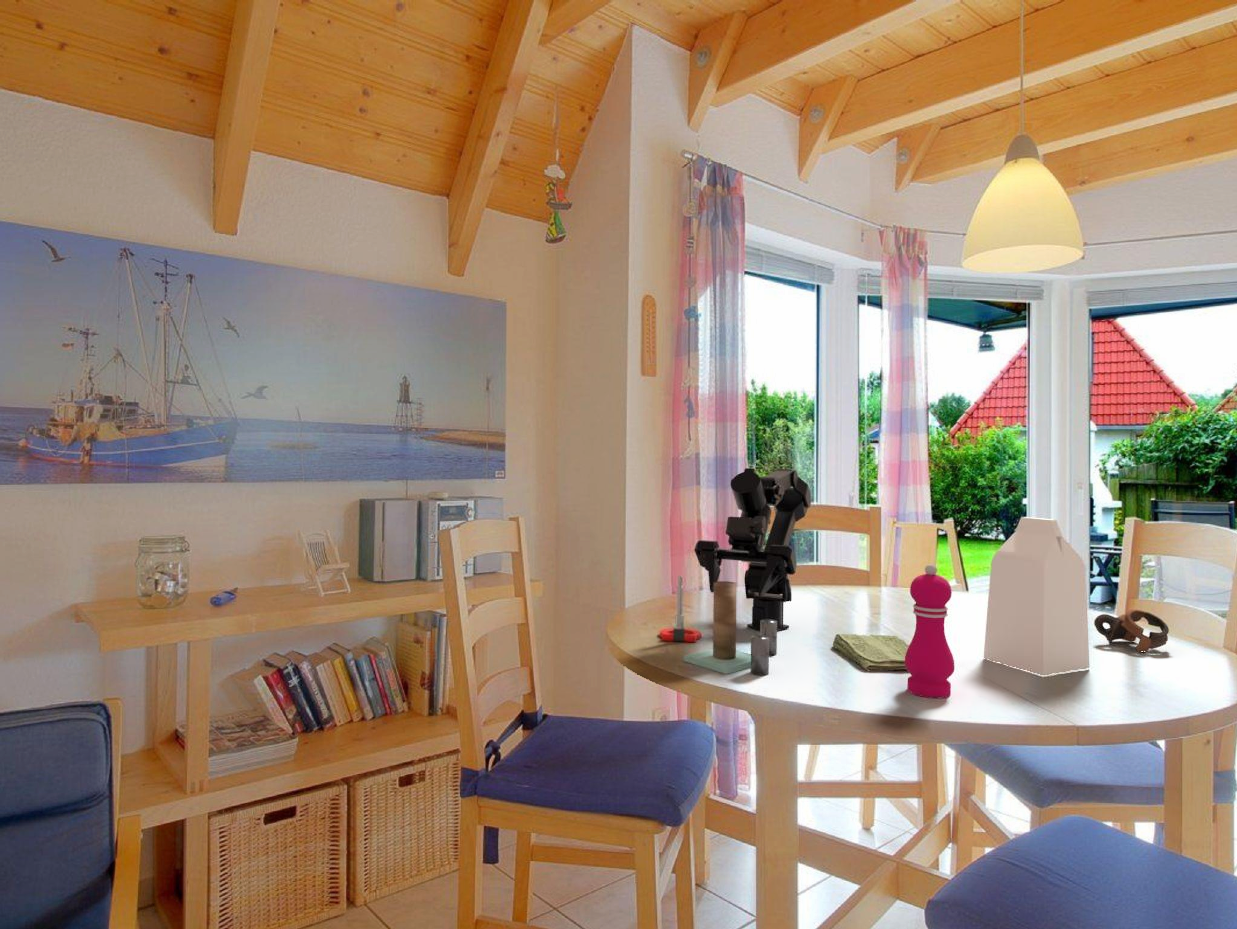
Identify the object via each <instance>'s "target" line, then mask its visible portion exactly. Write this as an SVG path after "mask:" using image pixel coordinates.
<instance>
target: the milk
mask: <svg viewBox="0 0 1237 929" xmlns="http://www.w3.org/2000/svg"><path fill="white" fill-rule="evenodd" d="M1019 519H1020V520H1019V521H1018V524H1017V526H1016V527H1015V528H1016V529H1015V532H1014V533H1012V534H1011V536H1010V537H1009V538H1008V539H1007V540H1006V541H1004V543H1003V544H1002V545H1001V546H1000V547H999V548H998V550H997V551H996V552H995V553H994V554H993V556H992V559H991V562H990V574H989V585H988V586H989V588H988V599H987V610H986V611H987V612H986V620H985V621H986V624H985V635H984V648H983V658H985V659H989V660H991V661H995V662H1000V663H1001V664H1006V665H1008V666H1012V667H1016V668H1019V669H1023V670H1027V671H1030V672H1033V673H1037V674H1040V675H1049V674H1052V673H1059V672H1066V671H1070V670H1078V669H1086V668H1089V667H1090V648H1089V625H1088V623H1089V621H1088V619H1089V618H1088V599H1087V598H1088V597H1087V593H1088V592H1087V577H1086V576H1087V575H1086V574H1087V573H1086V572H1087V571H1086V565H1085V561H1084V560H1083V558H1082V556H1080V554H1079V553H1078V552H1077V551H1076V549H1074V548H1073V547H1072V545H1071V544H1070V543H1069V542H1068V541H1067V540H1066V539H1065V538H1064V537H1063V535H1062V532H1061V529H1060V527H1059V524H1058V521H1057V519H1052V518H1051V519H1050V518H1042V517H1030V516H1021V517H1020V518H1019ZM985 659H984V660H985ZM991 661H990V662H991ZM995 662H994V663H995ZM1001 664H1000V665H1001ZM1008 666H1007V667H1008Z"/></svg>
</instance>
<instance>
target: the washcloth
mask: <svg viewBox="0 0 1237 929" xmlns="http://www.w3.org/2000/svg"><path fill="white" fill-rule="evenodd" d="M909 645H910V644H909V643H907V642H906V641H905V640H904V639H901V638H900V637H898V636H896V635H890V634H888V635H887V634H886V635H885V634H884V635H883V634H879V635H878V634H869V635H868V634H867V635H866V634H861V635H860V634H855V633H854V634H853V633H852V634H851V633H850V634H849V633H837V634H835V636H834V640H833V642H832V646H833V647H834V649H836V650H838V651H839V653H840V654H842V655H844V656H845V657H847V658H848V659H850V660H852V661H853V662H855V663H856V664H857V665H859V666H861V668H863V669H865V670H866V671H868V670H870V671H901V669H902V670H907V669H906V667H905V656H906V652H907V649H908V647H909Z"/></svg>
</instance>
